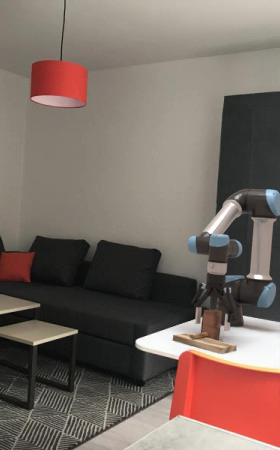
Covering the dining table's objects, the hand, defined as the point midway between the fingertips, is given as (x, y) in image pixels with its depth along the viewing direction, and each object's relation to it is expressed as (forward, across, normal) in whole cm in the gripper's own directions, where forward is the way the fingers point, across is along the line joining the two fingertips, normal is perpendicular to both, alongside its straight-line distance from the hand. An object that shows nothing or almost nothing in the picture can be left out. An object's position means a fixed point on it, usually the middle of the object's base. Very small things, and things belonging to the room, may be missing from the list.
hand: (211, 327), depth 201 cm
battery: (+6, -5, +6) cm, 10 cm away
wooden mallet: (+6, 0, -5) cm, 8 cm away
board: (+5, +3, -9) cm, 11 cm away
